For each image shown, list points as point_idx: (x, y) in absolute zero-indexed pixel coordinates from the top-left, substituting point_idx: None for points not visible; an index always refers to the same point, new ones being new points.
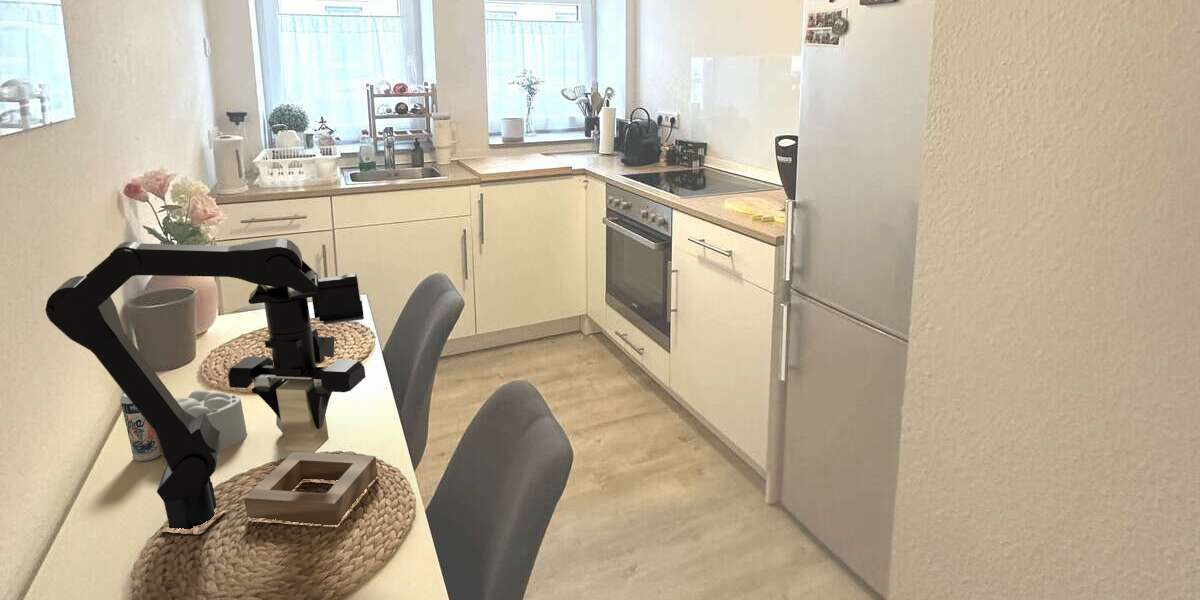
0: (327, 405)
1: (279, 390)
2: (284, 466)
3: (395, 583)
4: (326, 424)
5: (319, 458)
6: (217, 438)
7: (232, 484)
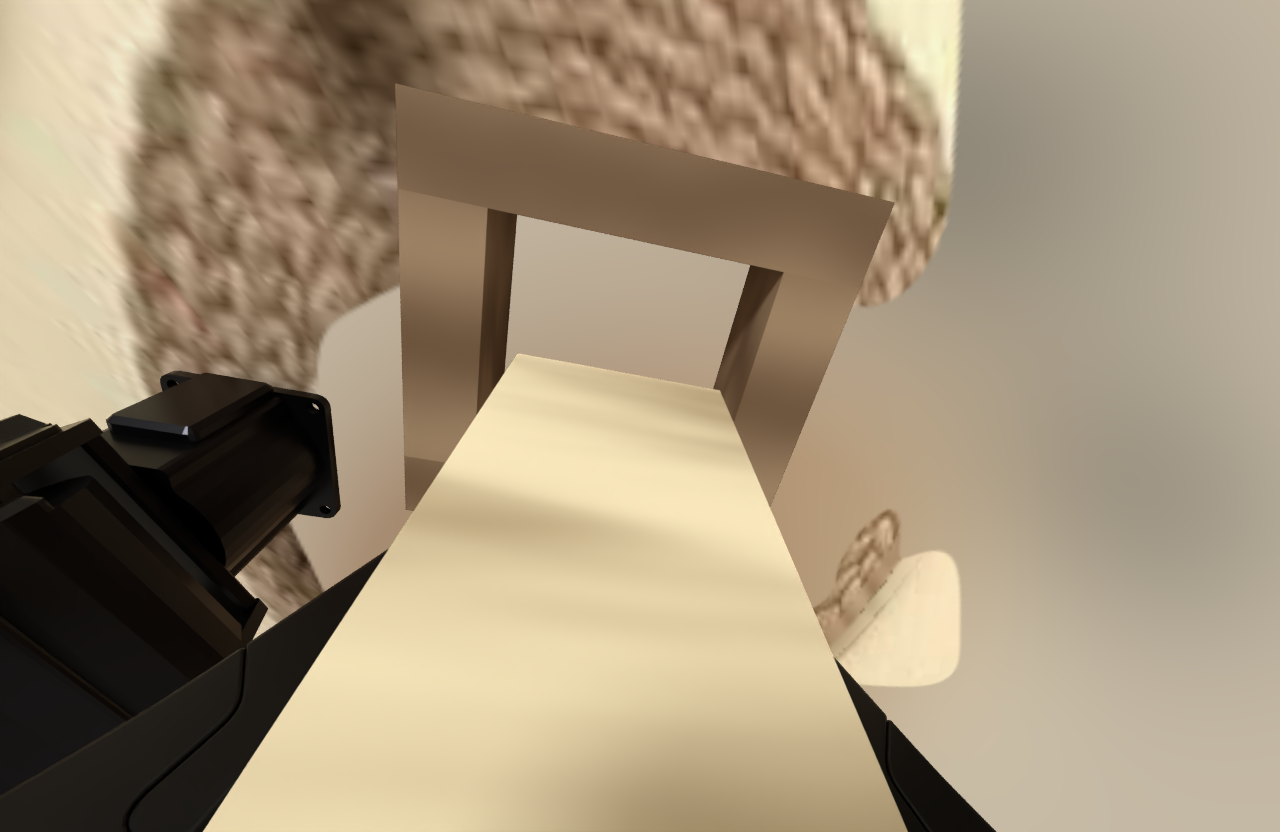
0: (881, 713)
1: None
2: (436, 273)
3: (882, 671)
4: (741, 447)
5: (590, 197)
6: (29, 669)
7: (195, 183)
